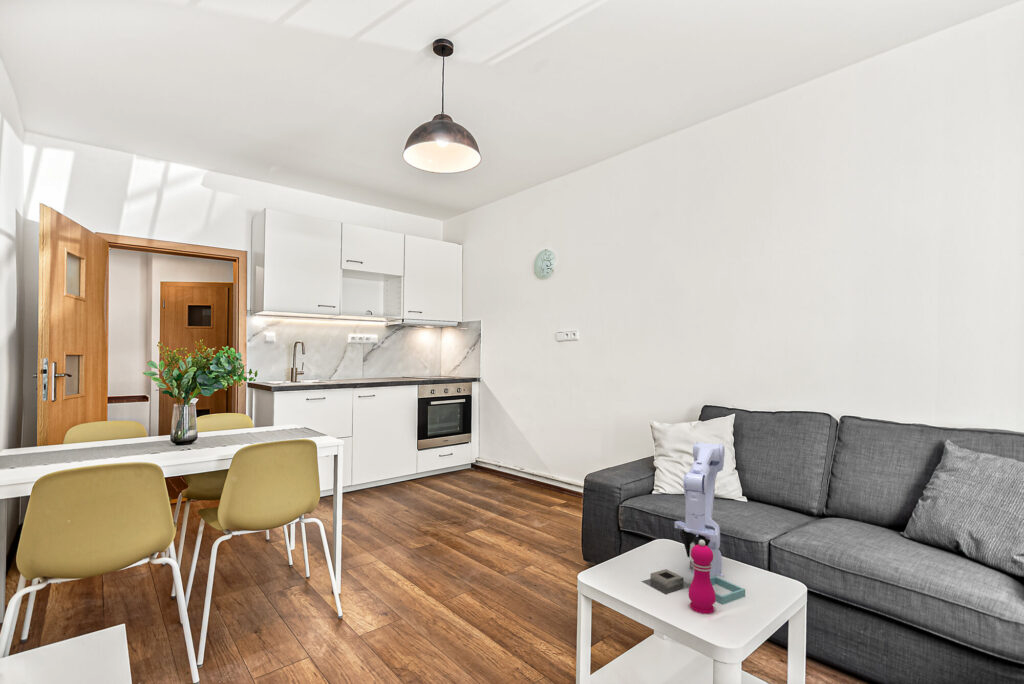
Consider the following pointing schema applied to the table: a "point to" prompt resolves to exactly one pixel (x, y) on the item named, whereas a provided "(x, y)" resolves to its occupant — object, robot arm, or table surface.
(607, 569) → the table surface
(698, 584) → the pepper mill
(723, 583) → the tray
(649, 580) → the hitch plate
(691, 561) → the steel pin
